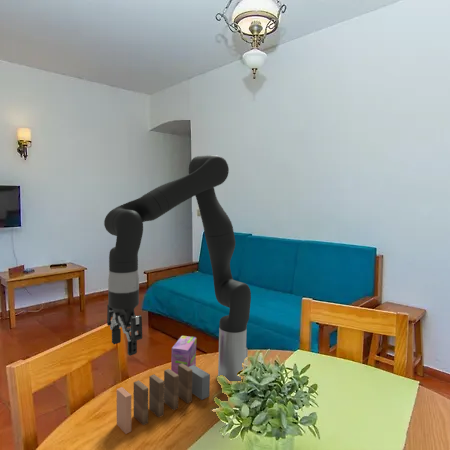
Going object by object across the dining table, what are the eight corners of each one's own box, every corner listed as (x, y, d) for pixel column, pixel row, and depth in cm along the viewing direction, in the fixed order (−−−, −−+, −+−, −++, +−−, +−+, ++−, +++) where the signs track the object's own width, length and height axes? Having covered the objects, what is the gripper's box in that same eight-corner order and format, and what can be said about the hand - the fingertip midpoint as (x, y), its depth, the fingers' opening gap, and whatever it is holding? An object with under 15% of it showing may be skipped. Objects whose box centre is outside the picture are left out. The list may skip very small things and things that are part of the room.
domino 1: (138, 414, 100) (138, 380, 99) (148, 422, 96) (148, 387, 96) (133, 416, 99) (133, 382, 98) (142, 425, 95) (143, 389, 94)
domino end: (122, 421, 97) (122, 386, 96) (131, 431, 93) (131, 395, 92) (116, 424, 96) (116, 389, 95) (125, 433, 92) (125, 397, 91)
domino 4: (181, 394, 110) (182, 363, 109) (191, 401, 107) (192, 369, 106) (177, 396, 109) (178, 365, 108) (187, 403, 106) (188, 371, 105)
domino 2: (153, 406, 104) (154, 374, 103) (163, 415, 100) (164, 381, 99) (149, 409, 102) (149, 376, 101) (158, 417, 99) (159, 383, 98)
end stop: (193, 385, 115) (193, 364, 115) (209, 396, 110) (209, 374, 109) (185, 388, 113) (186, 367, 113) (201, 399, 108) (202, 377, 107)
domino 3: (168, 400, 107) (168, 368, 106) (178, 408, 103) (178, 375, 102) (163, 402, 106) (164, 370, 105) (173, 410, 102) (174, 377, 101)
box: (187, 384, 116) (187, 349, 115) (170, 382, 117) (171, 347, 116) (196, 369, 126) (196, 337, 125) (180, 367, 127) (181, 335, 126)
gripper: (151, 291, 88) (151, 353, 90) (123, 279, 98) (124, 336, 100) (123, 296, 83) (123, 363, 84) (97, 284, 93) (98, 343, 95)
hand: (123, 348), depth 92 cm, fingers open, 8 cm apart
